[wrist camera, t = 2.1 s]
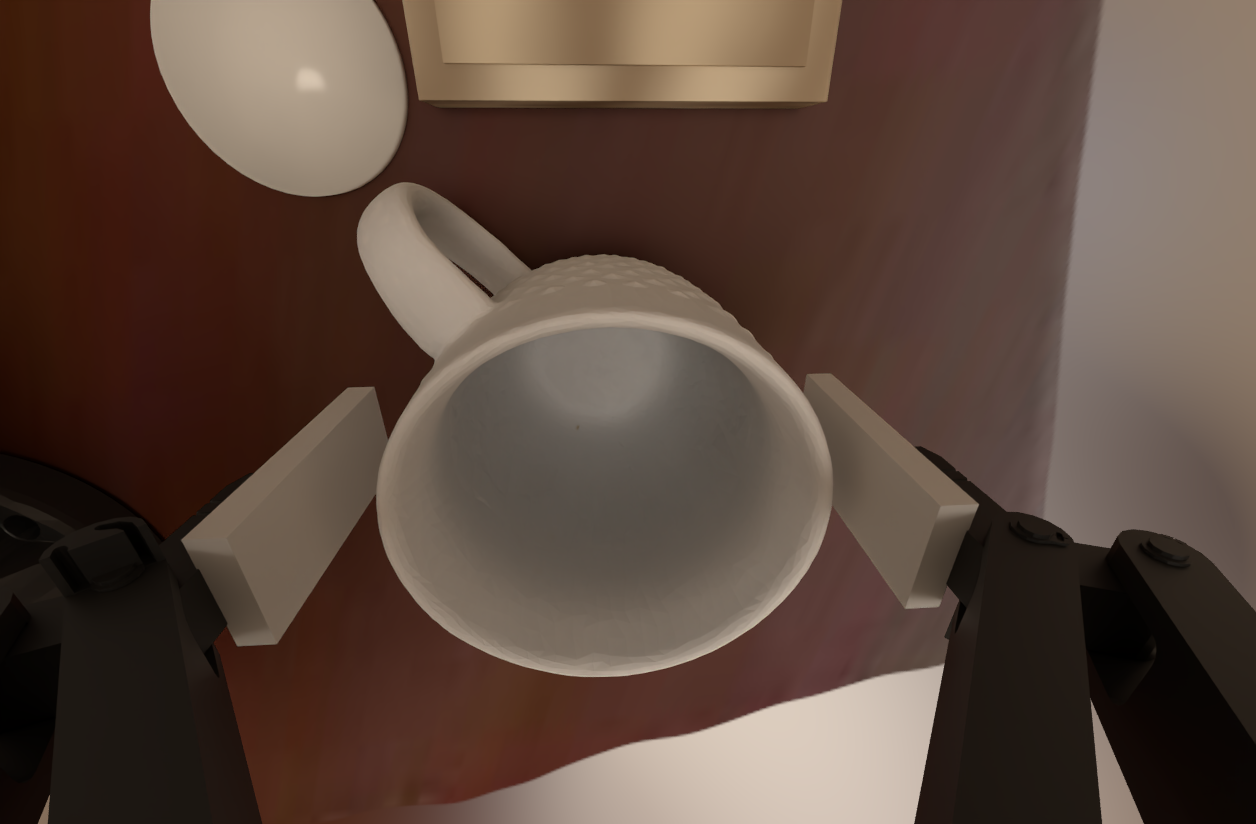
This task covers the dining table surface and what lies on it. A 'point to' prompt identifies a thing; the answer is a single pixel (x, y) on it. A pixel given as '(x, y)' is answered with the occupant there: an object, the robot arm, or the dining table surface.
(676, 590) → the mug
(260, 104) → the white oval dome
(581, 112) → the dining table surface
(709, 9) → the base
